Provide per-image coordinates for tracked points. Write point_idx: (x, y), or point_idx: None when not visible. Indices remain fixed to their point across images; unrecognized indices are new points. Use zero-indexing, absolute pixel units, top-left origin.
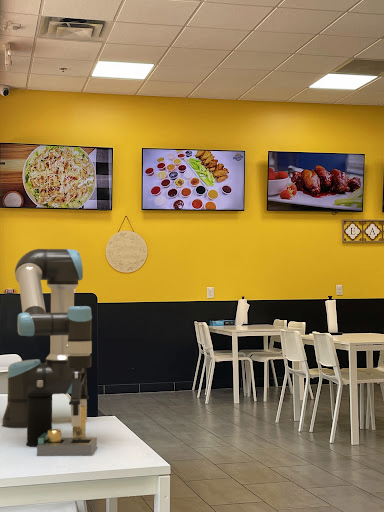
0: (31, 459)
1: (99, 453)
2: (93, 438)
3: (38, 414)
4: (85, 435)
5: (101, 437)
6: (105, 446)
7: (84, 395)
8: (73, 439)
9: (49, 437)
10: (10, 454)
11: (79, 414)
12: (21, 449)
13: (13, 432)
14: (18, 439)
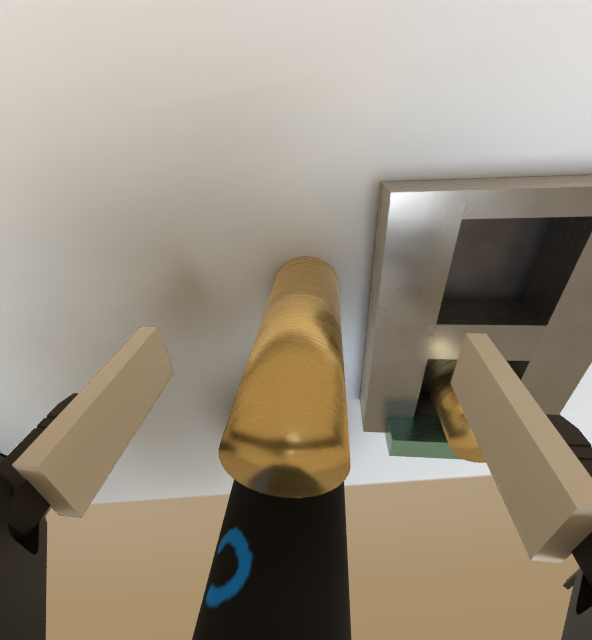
0: (583, 412)
1: (588, 128)
2: (426, 210)
3: (347, 559)
4: (299, 277)
5: (84, 199)
6: (354, 123)
7: (7, 532)
8: (433, 322)
9: None
10: (460, 466)
11: (534, 410)
12: (381, 451)
13: (114, 487)
14: (215, 470)
